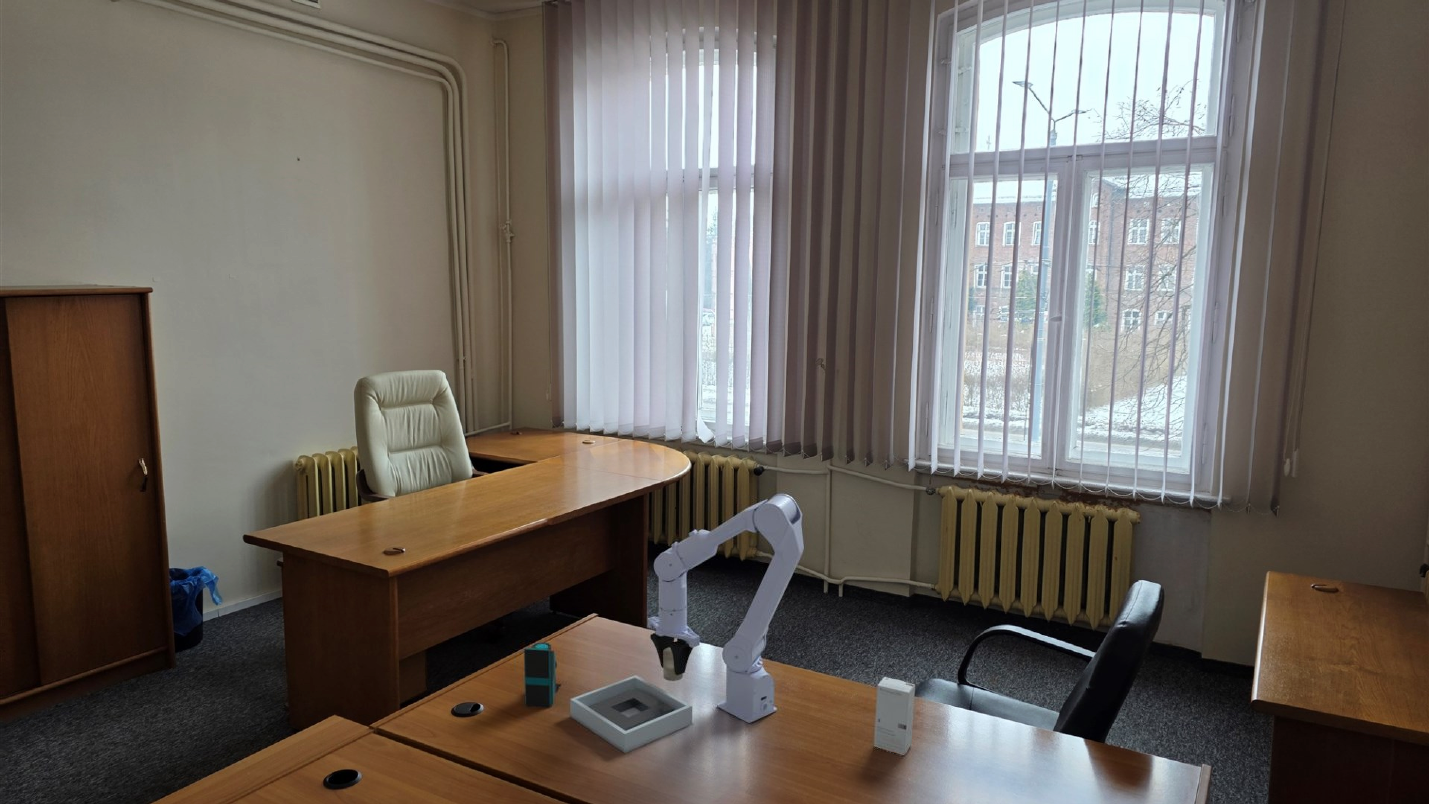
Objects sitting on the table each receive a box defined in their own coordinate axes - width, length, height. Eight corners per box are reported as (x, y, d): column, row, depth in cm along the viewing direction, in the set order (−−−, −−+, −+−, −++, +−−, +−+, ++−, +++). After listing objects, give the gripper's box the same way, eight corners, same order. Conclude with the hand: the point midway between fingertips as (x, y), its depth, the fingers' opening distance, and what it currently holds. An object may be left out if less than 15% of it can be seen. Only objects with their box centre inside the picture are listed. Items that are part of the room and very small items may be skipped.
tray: (692, 723, 161) (692, 706, 160) (624, 753, 150) (624, 734, 150) (636, 691, 174) (635, 675, 174) (570, 716, 163) (570, 699, 163)
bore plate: (674, 718, 162) (674, 708, 161) (624, 739, 154) (623, 729, 153) (637, 696, 170) (636, 687, 170) (587, 715, 162) (587, 706, 162)
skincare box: (873, 748, 152) (874, 685, 151) (880, 737, 156) (882, 675, 155) (906, 757, 149) (908, 693, 148) (913, 746, 153) (915, 683, 152)
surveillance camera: (565, 631, 175) (550, 650, 166) (566, 685, 177) (551, 708, 167) (539, 629, 176) (522, 649, 166) (540, 684, 177) (524, 706, 168)
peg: (686, 676, 172) (686, 651, 172) (671, 682, 170) (671, 656, 169) (674, 670, 175) (674, 645, 175) (659, 676, 173) (659, 650, 172)
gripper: (635, 601, 174) (636, 664, 175) (680, 621, 163) (680, 687, 164) (662, 593, 178) (662, 654, 180) (707, 612, 168) (707, 676, 169)
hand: (673, 669), depth 172 cm, fingers closed on peg, 4 cm apart
